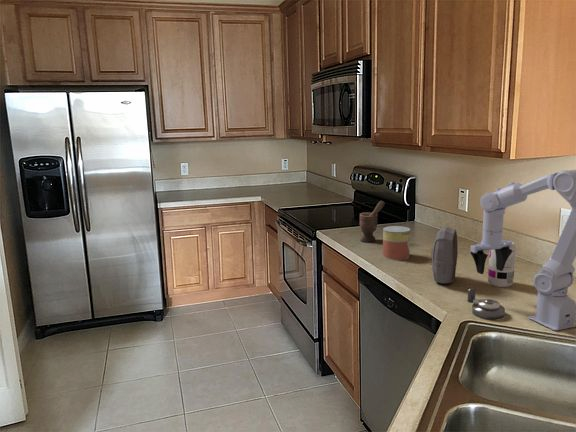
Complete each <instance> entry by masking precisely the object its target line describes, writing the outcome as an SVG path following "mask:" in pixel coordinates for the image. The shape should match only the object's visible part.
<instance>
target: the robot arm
mask: <svg viewBox="0 0 576 432" xmlns="http://www.w3.org/2000/svg"><path fill="white" fill-rule="evenodd" d="M507 185H508V186H505V187H503V188H496V189H495V190H494V191H493V192H485V194H483V195H482V196H481V197H480V200H479V203H480V207H481V209H482V210H483V218H482V222H483V223H482V237H481V241H480V243H479V242H478V243H475V244H472V245H470V255H471V256H472V258H473V261H474V264H475V268H476V273H477V274H480V275H483V274H484V272H485V266H486V261H487V258H488V257H489V256H488V254H486V253H485V252H486V251H487V252H488V251H490V250H494V249H495V253H496V269H497V270H500V271H503V268H504V266H505V263H506V261H507V259H508V257H509V256H510V254H511V253H512V250H511V249H509V248H512V242H513V241H511V240H506V241H502V240H503V229H504V214H506V213H505V212H506V209H507V208H508V207H511V206H514V205H517V204H519V203H520V204H521V203H522V202H525V201H526V200H527V199H528V197H529V195H532V194H536V193H539V192H542V191H545V190H551V191H556V192H557V193H558V194H559V196H561V197H562V198H563V199H564V200H565V201H566V202H567V203H568V204H569V205H570V207H571V211H570V213H569V215H568V217H567V219H566V221H565V225H564V227H563V229H562V232H561V234H560V236H559V238H558V240H557V243H556V245H555V248H554V249H553V252H552V253H551V256H550V259H549V260H548V261H546V263H545V264H543V266H542V267H541V269H540V270H539V272H537V273H535V275H534V277H533V280H532V281H533V285H534V288H535V289H536V290H537V299H536V309H535V314H534V315H529V316H528V317H527V318H528V319H530V320H532V321H534V322H536V323H538V324H540V325H542V326H545V327H547V328H548V329H550V330H553V331H561V330H565V329H570V328H575V327H576V301H575V300H574V299H572V298H571V297H570V296H569V295H568V289H569V287H571V286H572V285H573V283H574V274H575V273H574V272H575V271H576V268H575V266H574V265H573V264H574V261H575V259H576V169H571V170H570V169H569V170H568V169H567V170H565V169H564V170H561V171H558V172H553V173H549V174H546V175H544V176H541V177H539V178H536V179H534V180H533V181H530V182H527V183H524V184H522V183H519V182H516V183H515V182H510V183H508V184H507Z"/></svg>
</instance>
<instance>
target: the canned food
mask: <svg viewBox="0 0 576 432" xmlns="http://www.w3.org/2000/svg"><path fill="white" fill-rule="evenodd" d="M382 231H383V232H382V257H383V258H384V257H385V259H387V260H391V259H393V260H394V261H402V260H403V261H404V260H408V259H409V258H410V256H411V255H410V253H411V252H410V249H411V248H410V245H411V243H410V242H411V228H409V227H407V226H402V225H390V226H385V227H383V228H382ZM393 260H392V261H393Z"/></svg>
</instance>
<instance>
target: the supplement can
mask: <svg viewBox="0 0 576 432" xmlns="http://www.w3.org/2000/svg"><path fill="white" fill-rule="evenodd" d="M502 241H507V240H505V239H502ZM511 242H512V248H509V249H511V250H512V253H511V254H510V256H509V257H508V259H507V261H506V263H505V266H504V268H503V271H500V270H497V269H496V253H495V249H494V250H489V256H488V272H487V273H488V274H487V275H488V276H487V282H488V283H489V284H490V285H491V286H494V287H498V288H509V287H511V286H512V285H514V278H515V264H516V263H515V262H516V261H515V260H516V250H517V249H516V245H515V243H514V242H513V241H511Z"/></svg>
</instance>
